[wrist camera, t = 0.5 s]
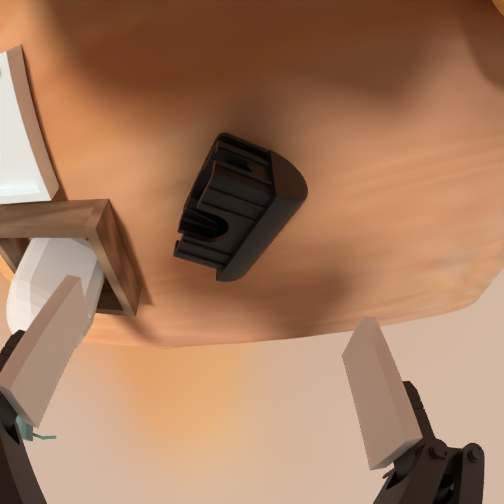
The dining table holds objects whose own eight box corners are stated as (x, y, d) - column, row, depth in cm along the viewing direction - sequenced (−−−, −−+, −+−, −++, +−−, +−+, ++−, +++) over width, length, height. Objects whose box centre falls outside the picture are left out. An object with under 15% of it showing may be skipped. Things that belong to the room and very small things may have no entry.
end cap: (247, 234, 31) (248, 290, 27) (180, 212, 29) (169, 269, 24) (301, 159, 24) (316, 213, 20) (222, 124, 22) (216, 174, 17)
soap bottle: (91, 282, 37) (56, 449, 22) (31, 251, 32) (-22, 418, 17) (118, 248, 32) (74, 457, 17) (46, 208, 27) (-30, 418, 12)
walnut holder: (0, 205, 26) (-16, 230, 23) (108, 199, 27) (95, 228, 24) (48, 283, 37) (39, 306, 35) (140, 289, 38) (135, 316, 36)
